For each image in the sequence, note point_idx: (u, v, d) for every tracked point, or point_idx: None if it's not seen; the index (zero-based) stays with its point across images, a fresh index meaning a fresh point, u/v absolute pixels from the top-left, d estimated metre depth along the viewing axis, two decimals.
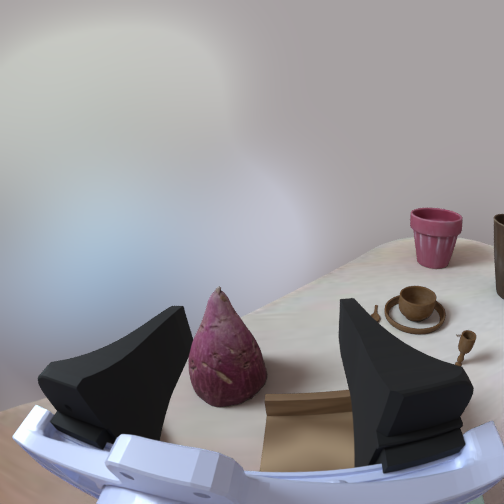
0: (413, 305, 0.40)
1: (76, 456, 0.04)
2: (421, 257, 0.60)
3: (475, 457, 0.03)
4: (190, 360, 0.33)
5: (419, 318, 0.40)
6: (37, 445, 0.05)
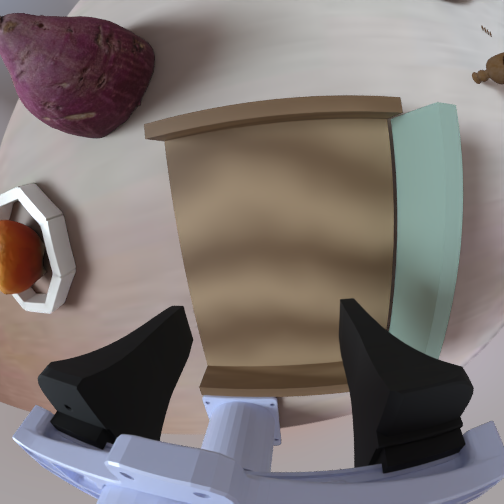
0: None
1: (76, 456, 0.04)
2: None
3: (476, 457, 0.03)
4: None
5: None
6: (37, 445, 0.05)
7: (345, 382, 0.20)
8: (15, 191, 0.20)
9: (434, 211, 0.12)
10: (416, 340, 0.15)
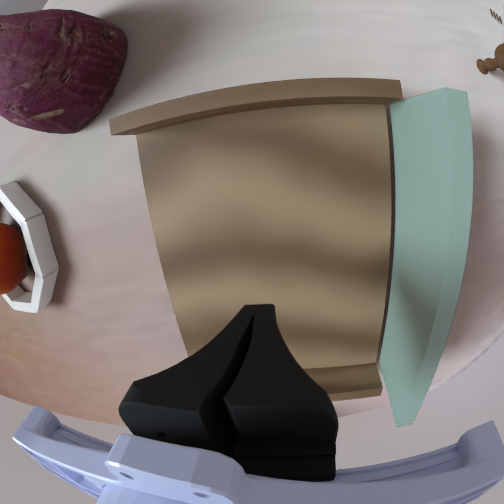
0: None
1: (76, 456, 0.04)
2: None
3: (476, 457, 0.03)
4: None
5: None
6: (37, 445, 0.05)
7: (334, 391, 0.19)
8: None
9: (437, 217, 0.10)
10: (409, 356, 0.14)
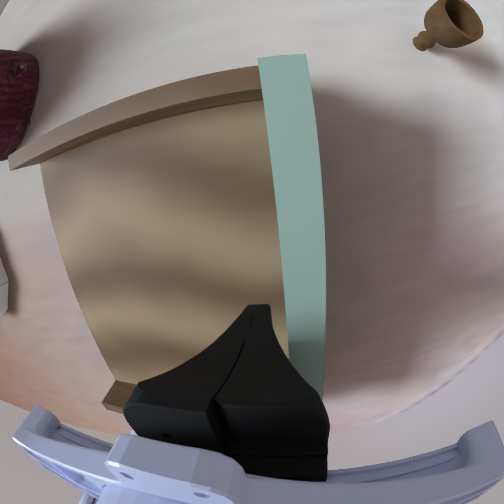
0: None
1: (76, 456, 0.04)
2: None
3: (476, 457, 0.03)
4: None
5: None
6: (36, 445, 0.05)
7: None
8: None
9: None
10: None
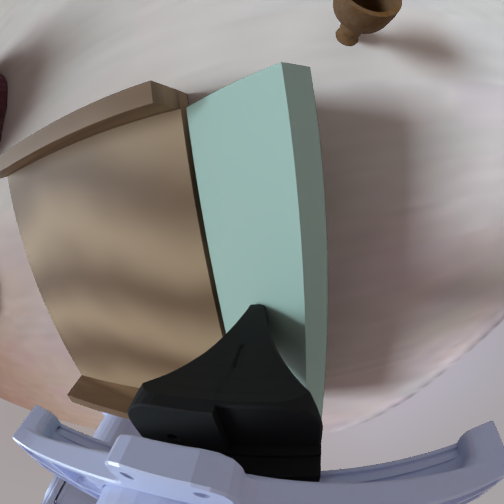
0: None
1: (76, 456, 0.04)
2: None
3: (476, 457, 0.03)
4: None
5: None
6: (37, 445, 0.05)
7: None
8: None
9: (277, 239, 0.10)
10: None
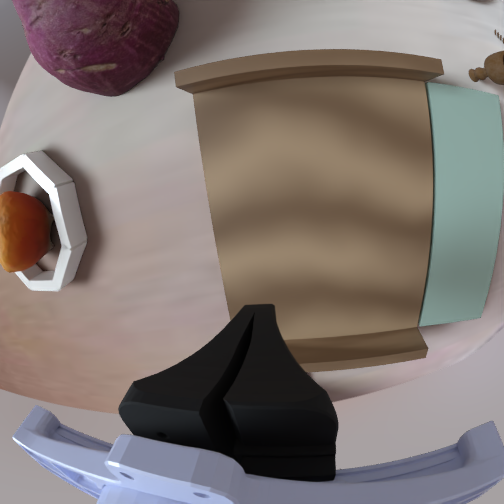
0: None
1: (77, 457, 0.04)
2: None
3: (476, 457, 0.03)
4: None
5: None
6: (37, 445, 0.05)
7: (384, 354, 0.19)
8: (20, 159, 0.18)
9: (494, 164, 0.14)
10: (481, 266, 0.17)
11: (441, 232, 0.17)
